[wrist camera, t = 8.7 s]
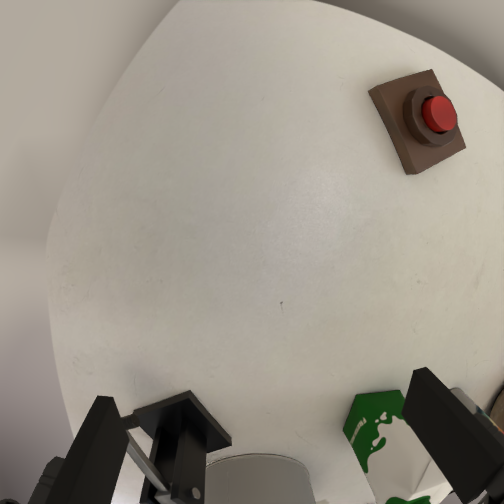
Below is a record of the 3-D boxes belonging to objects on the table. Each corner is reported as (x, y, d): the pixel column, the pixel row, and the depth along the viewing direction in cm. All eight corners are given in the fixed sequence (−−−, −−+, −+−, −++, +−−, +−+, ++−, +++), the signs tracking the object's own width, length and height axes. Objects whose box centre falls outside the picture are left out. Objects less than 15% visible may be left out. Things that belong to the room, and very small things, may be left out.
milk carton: (351, 389, 34) (419, 507, 15) (407, 383, 35) (483, 477, 16) (334, 434, 36) (380, 544, 17) (387, 427, 37) (443, 519, 18)
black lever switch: (133, 410, 33) (106, 490, 19) (190, 389, 33) (177, 480, 19) (177, 454, 35) (167, 530, 22) (231, 437, 35) (235, 521, 21)
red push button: (416, 103, 24) (425, 100, 22) (437, 96, 24) (447, 92, 22) (430, 136, 25) (440, 134, 23) (451, 126, 25) (460, 124, 23)
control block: (367, 91, 27) (384, 80, 23) (422, 73, 27) (440, 64, 23) (406, 174, 29) (426, 174, 25) (455, 148, 29) (476, 146, 25)
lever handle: (101, 420, 24) (90, 430, 22) (136, 409, 24) (126, 420, 21) (165, 501, 23) (159, 514, 21) (202, 495, 23) (197, 509, 21)
